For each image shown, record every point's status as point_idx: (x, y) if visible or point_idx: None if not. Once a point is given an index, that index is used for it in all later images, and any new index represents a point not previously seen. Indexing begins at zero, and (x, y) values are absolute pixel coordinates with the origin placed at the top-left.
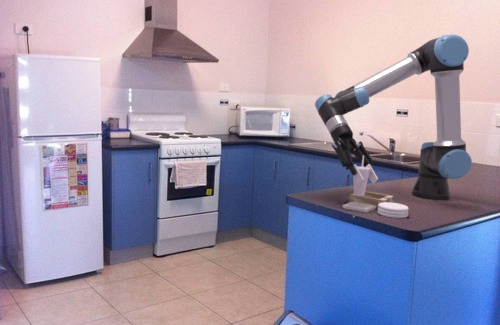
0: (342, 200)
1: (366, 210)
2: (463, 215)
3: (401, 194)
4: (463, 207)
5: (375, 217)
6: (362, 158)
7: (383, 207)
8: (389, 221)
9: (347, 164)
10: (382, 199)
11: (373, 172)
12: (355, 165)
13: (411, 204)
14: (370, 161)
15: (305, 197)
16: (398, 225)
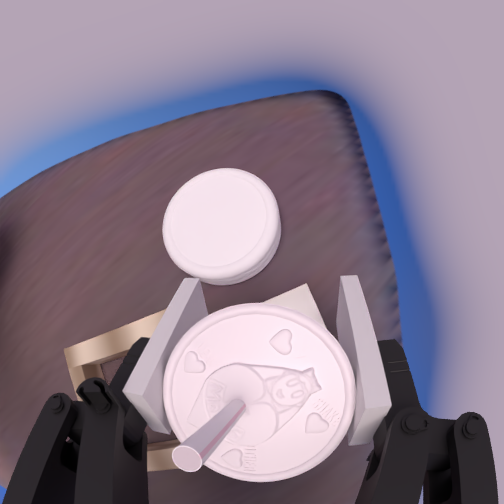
0: (230, 479)
1: (307, 287)
2: (62, 175)
3: (3, 398)
4: (4, 235)
5: (329, 220)
6: (217, 445)
7: (278, 216)
8: (319, 169)
9: (451, 423)
10: (153, 327)
11: (174, 318)
12: (378, 393)
13: (50, 312)
14: (71, 418)
15: None
16: (326, 134)
